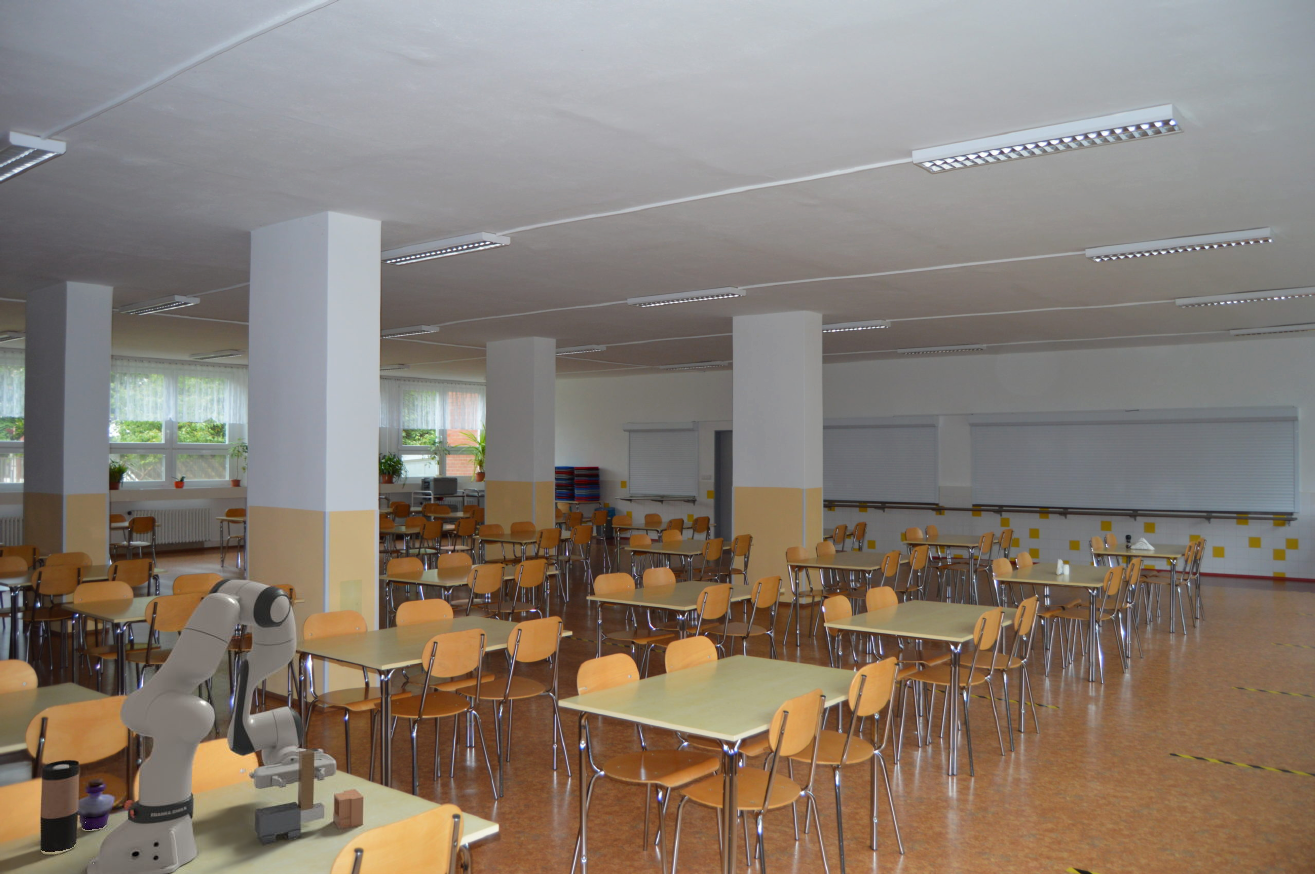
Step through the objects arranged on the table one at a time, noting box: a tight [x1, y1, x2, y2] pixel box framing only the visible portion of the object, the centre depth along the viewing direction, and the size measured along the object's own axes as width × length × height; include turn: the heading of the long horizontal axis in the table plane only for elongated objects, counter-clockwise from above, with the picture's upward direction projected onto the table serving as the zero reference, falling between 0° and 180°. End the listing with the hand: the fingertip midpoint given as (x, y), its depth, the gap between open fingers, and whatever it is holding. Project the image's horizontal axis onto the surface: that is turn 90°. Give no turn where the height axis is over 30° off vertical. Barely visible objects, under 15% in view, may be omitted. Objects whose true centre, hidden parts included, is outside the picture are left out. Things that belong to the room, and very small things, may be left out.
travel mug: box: [39, 759, 80, 852], centre depth 221 cm, size 8×8×20 cm
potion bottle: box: [78, 778, 116, 830], centre depth 233 cm, size 9×9×12 cm
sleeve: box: [254, 801, 302, 847], centre depth 228 cm, size 10×6×7 cm, turn 125°
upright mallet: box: [297, 750, 325, 824], centre depth 231 cm, size 14×3×17 cm, turn 125°
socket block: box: [332, 788, 364, 830], centre depth 238 cm, size 6×7×7 cm
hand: (302, 780), depth 235 cm, fingers open, 8 cm apart
